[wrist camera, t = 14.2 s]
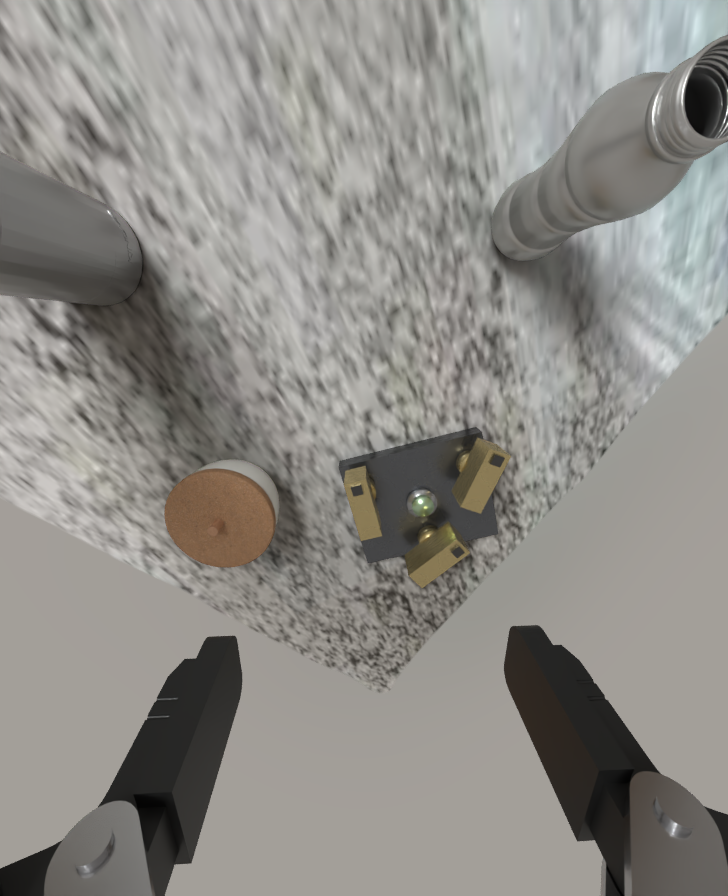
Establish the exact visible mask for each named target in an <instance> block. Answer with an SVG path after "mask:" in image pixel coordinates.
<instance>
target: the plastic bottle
mask: <svg viewBox="0 0 728 896" xmlns="http://www.w3.org/2000/svg"><path fill="white" fill-rule="evenodd" d="M727 141H728V35H726V36H723V37H720V38H719V39H717V40H715V41H713V42H712V43H710V44H708V45H707V46H705V47H704V48H703V49H702V50H701V51H699V52H698V53H697V54H696V55H694V56H693V57H691V58H689V59H687V60H685V61H684V62H682V63H681V64H679V65H678V66H677V67H676V68H674V69H673V70H672V71H671V72H670V73H664V72H649V73H643V74H640V75H637V76H634V77H632V78H629V79H627V80H625V81H623V82H621V83H619V84H617V85H615V86H614V87H612V88H610V89H609V90H607V91H606V92H605V93H604V94H603V95H601V96H600V97H599V98H598V99H597V100H596V101H595V102H594V104H593V105H592V106H591V107H590V108H589V109H588V111H587V112H586V113H585V114H584V116H583V117H582V118H581V119H580V121H579V122H578V124H577V125H576V126H575V128H574V129H573V131H572V132H571V133H570V135H569V136H568V137H567V139H566V140H565V142H564V143H563V144H562V146H561V147H560V148H559V149H558V150H557V151H556V152H555V153H554V155H553V156H552V157H551V158H550V159H549V160H548V161H547V162H546V163H545V164H544V165H542V166H541V167H540V168H538V169H537V170H535V171H534V172H532V173H529V174H527V175H526V176H524V177H522V178H521V179H519V180H517V181H516V182H514V183H513V184H512V185H511V186H509V187H508V188H507V189H506V191H505V192H504V193H503V195H502V196H501V198H500V200H499V202H498V204H497V206H496V208H495V210H494V213H493V216H492V222H491V231H492V236H493V240H494V242H495V245H496V246H497V248H498V249H499V250H500V251H501V252H502V253H503V254H504V255H505V256H507V257H508V258H510V259H513V260H518V261H529V260H536V259H539V258H542V257H544V256H545V255H547V254H549V253H550V252H552V251H553V250H554V249H555V248H557V247H558V246H559V245H560V244H561V243H562V242H563V241H564V240H566V239H568V238H569V237H571V236H572V235H574V234H575V233H577V232H580V231H582V230H585V229H588V228H590V227H593V226H596V225H601V224H605V223H610V222H615V221H619V220H623V219H626V218H629V217H632V216H635V215H638V214H641V213H643V212H645V211H647V210H649V209H650V208H652V207H654V206H655V205H656V204H657V203H659V202H660V201H661V200H662V199H663V198H665V197H666V196H667V195H668V194H669V193H670V192H671V191H672V190H673V189H674V188H675V187H676V186H677V185H678V184H679V183H680V182H681V180H682V179H683V178H684V176H685V175H686V173H687V172H688V170H689V168H690V167H691V165H692V163H693V162H694V160H696V159H698V158H700V157H702V156H704V155H706V154H708V153H710V152H711V151H712V150H713V149H715V148H716V147H717V146H719V145H721V144H723V143H725V142H727Z"/></svg>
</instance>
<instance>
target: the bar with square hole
mask: <svg viewBox="0 0 728 896" xmlns="http://www.w3.org/2000/svg"><path fill="white" fill-rule="evenodd" d="M418 541H419V544H418V545H417V546H415V547H414V548H413V549H412V550H410V551H409V552H408V553H406V554H405V560H406V565H407V570H408V575H409V576H410V577H411V578H412V579H413V580H414V581H415V582H416V583H417V584H418V585H419V586H420V587H421V588H423V587H425V586H426V585H427V584H429V583H430V582H431V581H433V580H434V579H435V578H437V577H438V576H439V575H441V574H442V573H444V572H445V571H446V570H448V569H449V568H450V567H452V566H453V565H454V564H456V563H457V562H459V561H460V560H461V559H463V558H464V557H465V556H467V555H468V554H469V553H470V552H469V550H468V548H467V546H466V544H465V542H464V540H463V538H462V536H461V534H460V533H459V532H458V531H457V530H456V529H455V528H454V526H453V525H452V524H451V523H450V522H449V521H448V522H447V523H445V524H444V525H443V526H441V527H440V528H439V529H438V528H437V527H436V526H432V525H428V526H424V527H423V528H421V529H420V530H419V532H418Z"/></svg>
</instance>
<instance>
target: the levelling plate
mask: <svg viewBox="0 0 728 896" xmlns="http://www.w3.org/2000/svg"><path fill="white" fill-rule="evenodd" d="M477 437H478V438H480V439H483V436H482V432H481V431H480V430H479V429H478V428H477V427H475V428H471V429H467V430H463V431H459V432H455V433H451V434H446V435H442V436H438V437H434V438H430V439H426V440H422V441H418V442H414V443H410V444H406V445H402V446H398V447H394V448H390V449H386V450H382V451H378V452H374V453H370V454H366V455H362V456H358V457H354V458H350V459H346V460H342V461H340V463H339V470H340V473H341V476H342V480H343V483H344V478H345V471H346V470H350V469H354V468H358V467H362V466H366V469H367V472H368V476H369V478H370V479H372V480H373V482H374V483H375V487H376V499H375V501H376V505H377V508H378V512H379V515H380V521H381V530H382V536H381V537H376V538H372V539H368V540H363V541H361V542H362V545H363V549H364V552H365V555H366V558H367V562H368V563H372V562H376V561H380V560H385V559H389V558H394V557H398V556H402V555H405V554H406V553H408V552H409V551H410V550H412V549H413V548H414V547H415V546H417V545H418V544H419V541H418V532H419V530H420V529H421V528H423V527H424V526H428V525H432V526H436V527H437V528H438V529H439V528H440V527H441V526H443V525H444V524H445V523H447V522H448V521H449V522H450V523H451V524H452V525H453V526H454V528H455V529H456V530H457V531H458V532H459V533H460V534H461V536H462V538H463V540H464V541H469V540H473V539H477V538H482V537H486V536H491V535H495V534H498V529H497V523H496V517H495V510H494V504H493V498H492V493H491V495H490V497H489V499H488V501H487V503H486V505H485V507H484V509H483V510H482V512H481V514H480V513H477V512H474V511H471V510H468V509H465V508H462V507H460V505H459V504H458V502H457V500H456V498H455V497H454V495H453V493H452V489H453V487H454V485H455V483H456V481H457V479H458V477H459V474H460V472H459V470H458V469H457V467H456V459H457V457H458V456H459V455H460V454H461V453H462V452H464V451H467V450H472V448H473V446H474V444H475V442H476V440H477Z"/></svg>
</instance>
